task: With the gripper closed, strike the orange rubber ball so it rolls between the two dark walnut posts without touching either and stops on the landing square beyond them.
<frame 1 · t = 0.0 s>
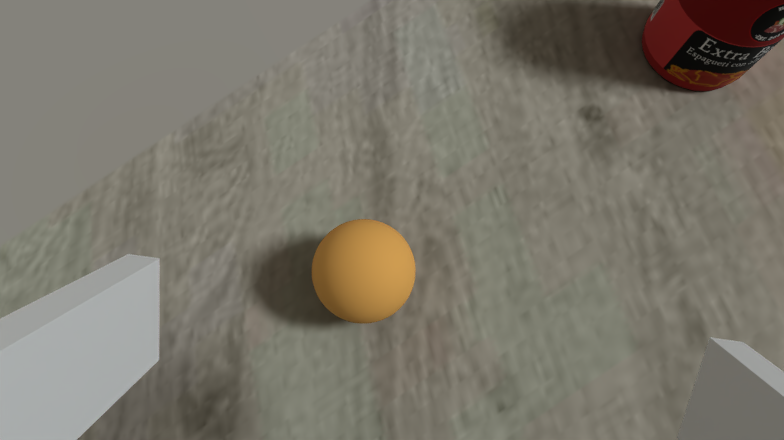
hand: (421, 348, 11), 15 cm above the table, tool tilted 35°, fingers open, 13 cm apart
canned food: (687, 52, 35), on the table
ball: (363, 270, 25), on the table
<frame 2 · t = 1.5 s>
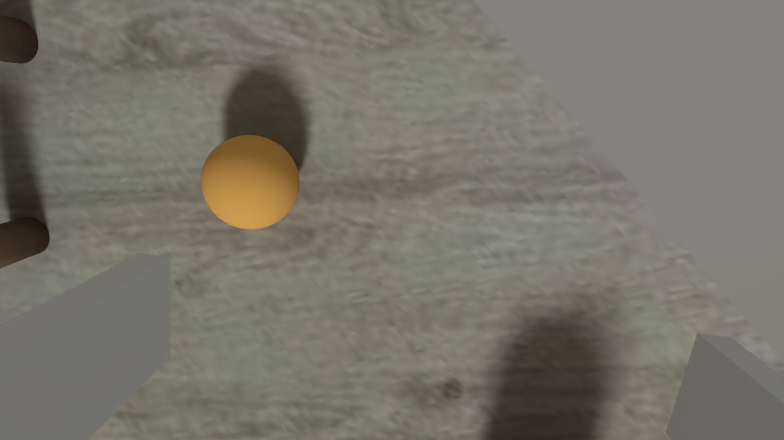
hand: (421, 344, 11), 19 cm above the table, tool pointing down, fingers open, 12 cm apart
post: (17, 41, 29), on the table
ball: (251, 182, 27), on the table
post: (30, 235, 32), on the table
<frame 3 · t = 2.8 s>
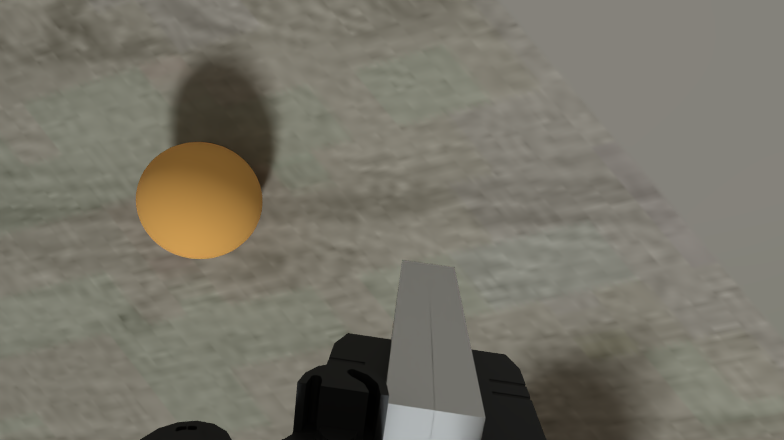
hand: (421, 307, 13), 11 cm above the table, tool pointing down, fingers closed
ball: (202, 200, 22), on the table
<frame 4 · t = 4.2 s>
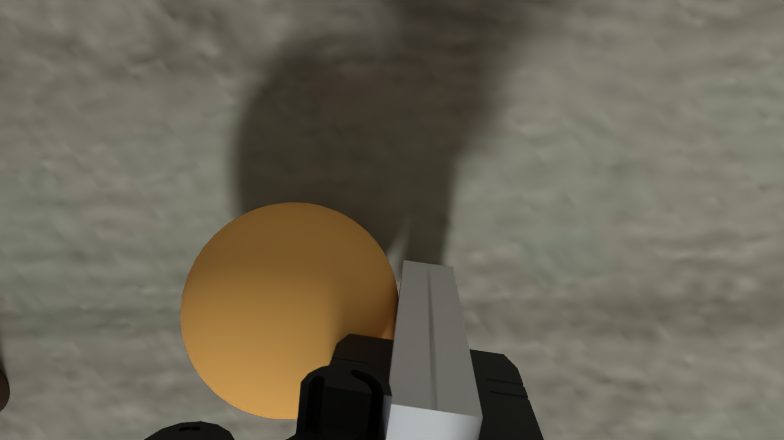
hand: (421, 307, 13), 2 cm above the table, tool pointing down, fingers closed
ball: (294, 306, 12), on the table, touching gripper
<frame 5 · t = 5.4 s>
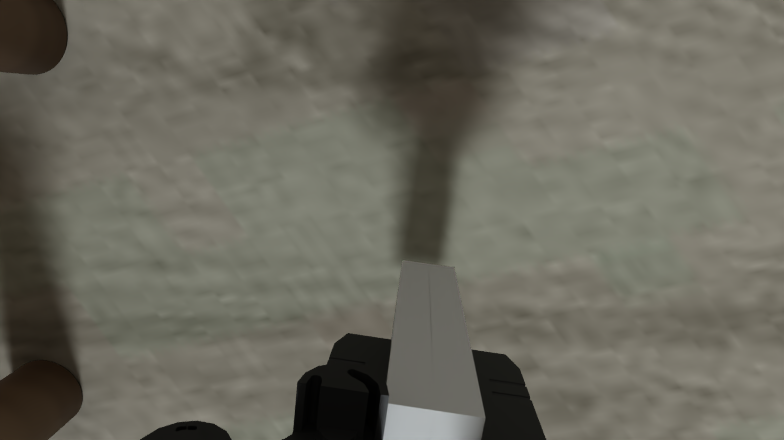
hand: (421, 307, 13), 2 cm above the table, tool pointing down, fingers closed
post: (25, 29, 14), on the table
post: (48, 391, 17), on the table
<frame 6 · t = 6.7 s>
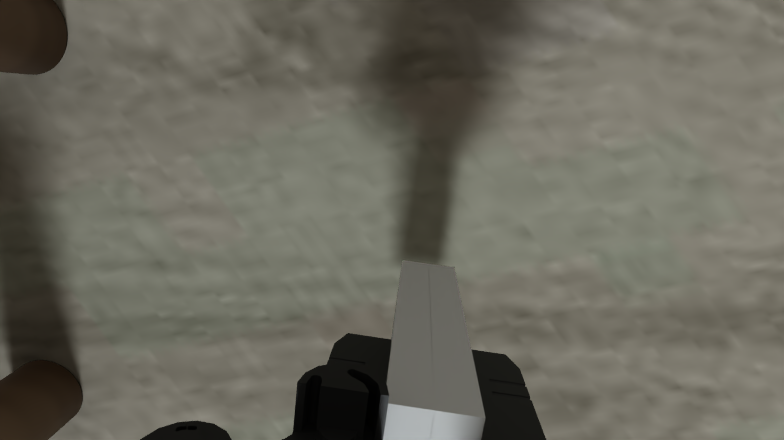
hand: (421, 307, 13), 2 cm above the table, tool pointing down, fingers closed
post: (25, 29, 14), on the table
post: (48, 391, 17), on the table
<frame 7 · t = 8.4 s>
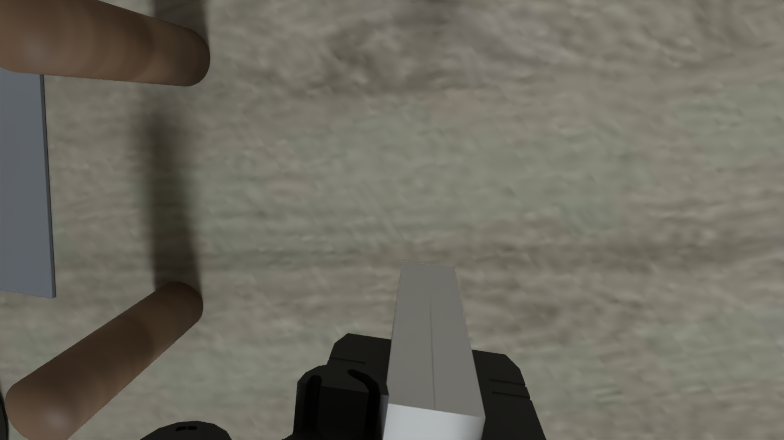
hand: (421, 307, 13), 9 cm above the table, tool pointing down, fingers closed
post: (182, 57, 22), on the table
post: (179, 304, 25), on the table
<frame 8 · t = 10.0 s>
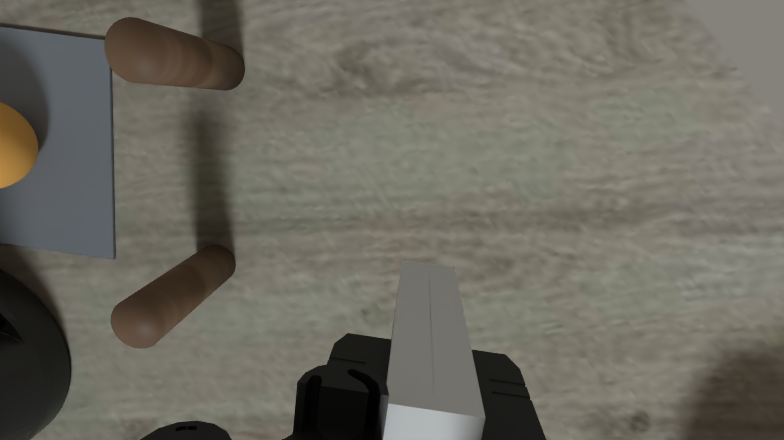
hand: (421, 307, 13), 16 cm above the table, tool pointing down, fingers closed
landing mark: (8, 141, 30), on the table
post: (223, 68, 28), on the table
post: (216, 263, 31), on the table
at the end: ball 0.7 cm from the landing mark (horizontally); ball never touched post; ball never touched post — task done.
